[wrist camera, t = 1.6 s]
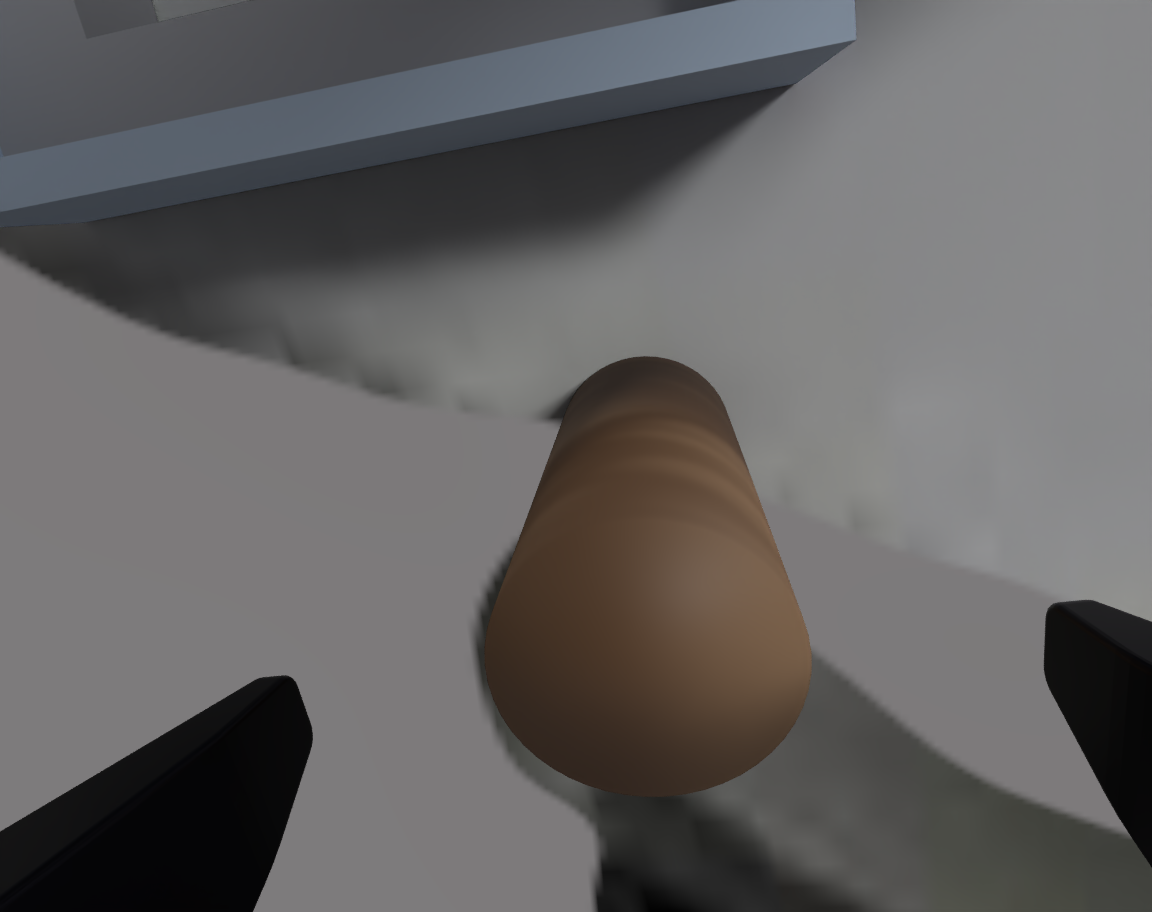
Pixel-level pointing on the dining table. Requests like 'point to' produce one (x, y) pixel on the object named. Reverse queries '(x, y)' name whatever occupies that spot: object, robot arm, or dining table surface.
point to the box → (350, 85)
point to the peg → (647, 596)
